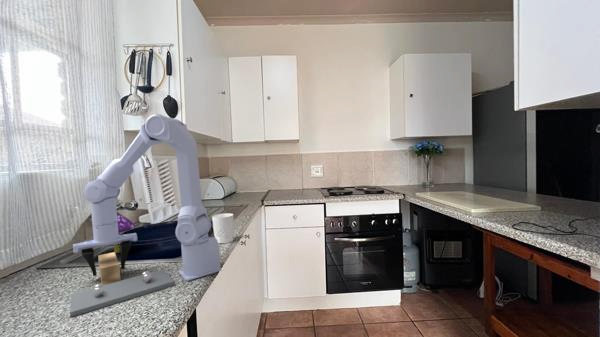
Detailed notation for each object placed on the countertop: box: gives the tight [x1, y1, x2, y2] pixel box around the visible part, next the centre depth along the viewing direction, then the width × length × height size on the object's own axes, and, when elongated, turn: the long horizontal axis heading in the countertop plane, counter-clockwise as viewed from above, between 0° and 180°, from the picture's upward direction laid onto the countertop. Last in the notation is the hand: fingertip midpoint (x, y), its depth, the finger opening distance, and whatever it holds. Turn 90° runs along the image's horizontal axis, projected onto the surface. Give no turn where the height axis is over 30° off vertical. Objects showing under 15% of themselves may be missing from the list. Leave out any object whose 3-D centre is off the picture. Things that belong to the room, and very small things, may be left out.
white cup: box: [211, 212, 235, 245], centre depth 105 cm, size 8×8×10 cm
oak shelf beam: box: [97, 251, 121, 286], centre depth 77 cm, size 4×14×5 cm, turn 39°
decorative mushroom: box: [113, 211, 137, 254], centre depth 98 cm, size 12×12×15 cm
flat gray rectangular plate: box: [69, 268, 175, 318], centre depth 67 cm, size 20×11×3 cm, turn 129°
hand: (109, 271), depth 77 cm, fingers open, 6 cm apart
